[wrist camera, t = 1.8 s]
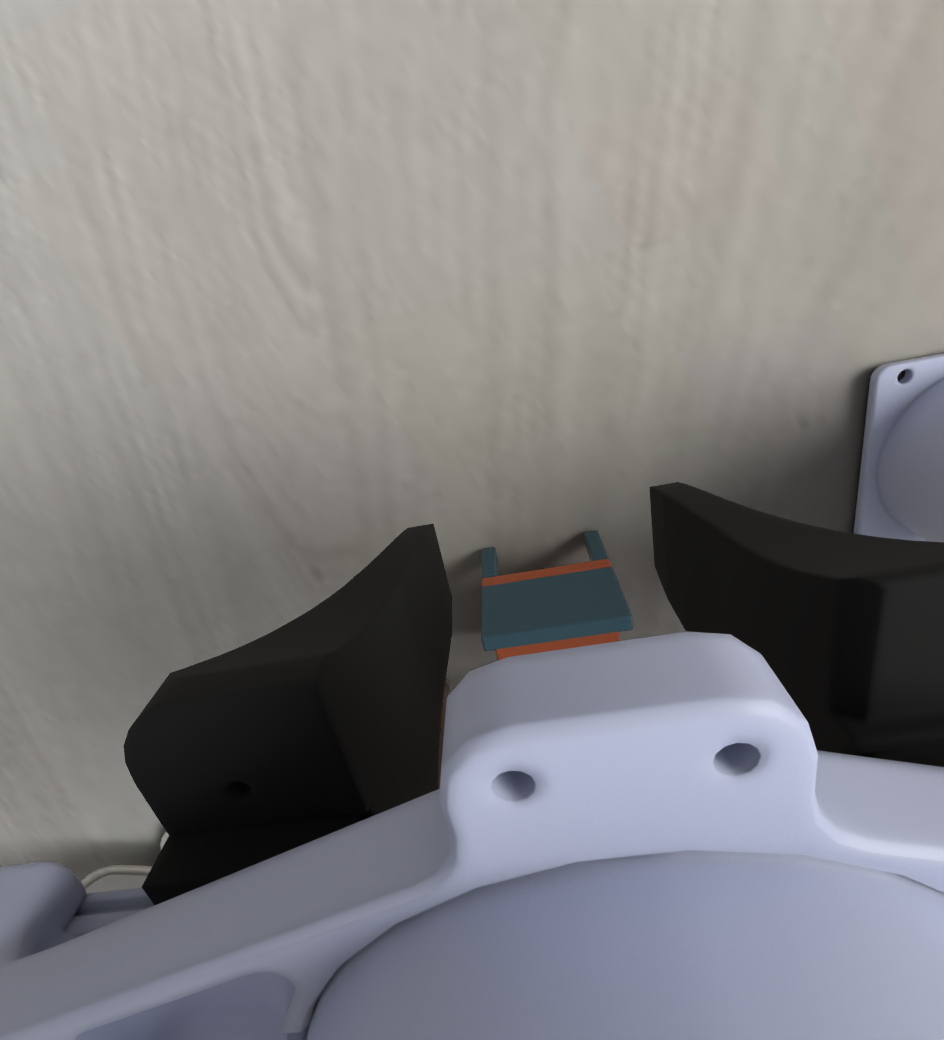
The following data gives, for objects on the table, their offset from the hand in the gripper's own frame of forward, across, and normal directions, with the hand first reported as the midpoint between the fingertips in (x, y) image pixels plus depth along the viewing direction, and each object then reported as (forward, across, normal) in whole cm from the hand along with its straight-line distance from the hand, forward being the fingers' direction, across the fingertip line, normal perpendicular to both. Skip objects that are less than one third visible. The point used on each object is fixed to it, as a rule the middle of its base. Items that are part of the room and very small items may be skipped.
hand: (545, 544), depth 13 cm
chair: (+10, 0, +8) cm, 13 cm away
